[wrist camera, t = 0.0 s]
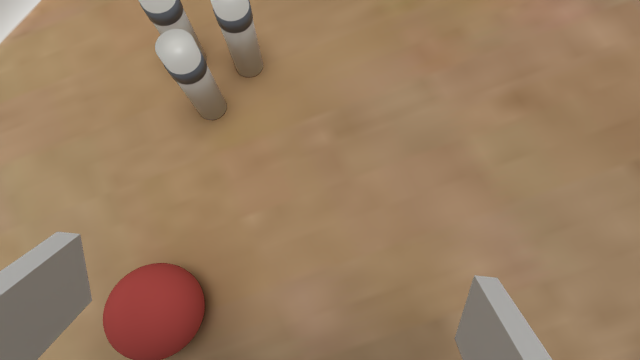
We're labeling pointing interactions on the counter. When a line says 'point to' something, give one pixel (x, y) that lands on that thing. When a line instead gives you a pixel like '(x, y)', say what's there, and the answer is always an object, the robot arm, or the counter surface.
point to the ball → (153, 312)
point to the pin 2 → (239, 35)
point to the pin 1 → (169, 17)
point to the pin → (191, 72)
